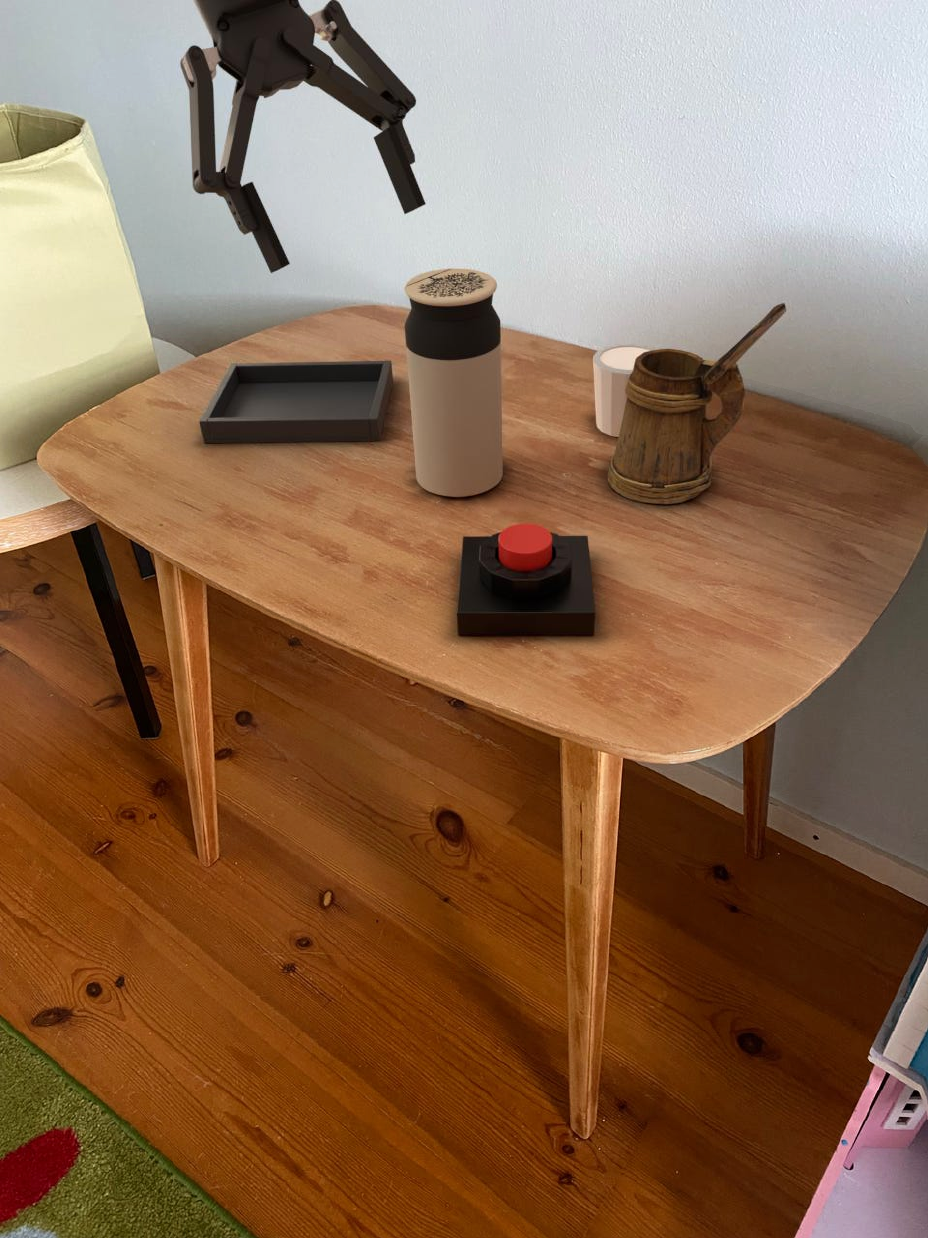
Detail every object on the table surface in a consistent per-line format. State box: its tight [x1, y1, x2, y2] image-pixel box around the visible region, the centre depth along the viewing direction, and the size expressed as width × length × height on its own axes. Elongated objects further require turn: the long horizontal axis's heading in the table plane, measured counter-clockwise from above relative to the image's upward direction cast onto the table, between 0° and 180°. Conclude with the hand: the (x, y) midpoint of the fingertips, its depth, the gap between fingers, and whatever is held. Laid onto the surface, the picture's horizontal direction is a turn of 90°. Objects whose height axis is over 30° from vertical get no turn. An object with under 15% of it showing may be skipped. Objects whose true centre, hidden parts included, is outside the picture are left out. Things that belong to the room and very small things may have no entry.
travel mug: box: [404, 268, 504, 498], centre depth 85 cm, size 8×8×18 cm
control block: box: [456, 531, 596, 637], centre depth 75 cm, size 10×10×4 cm
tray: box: [198, 360, 394, 444], centre depth 102 cm, size 18×14×2 cm
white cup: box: [592, 343, 657, 438], centre depth 96 cm, size 7×7×7 cm
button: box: [499, 523, 552, 571], centre depth 74 cm, size 4×4×2 cm
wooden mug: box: [607, 302, 787, 505], centre depth 82 cm, size 9×14×18 cm, turn 54°
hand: (350, 238), depth 82 cm, fingers open, 13 cm apart
